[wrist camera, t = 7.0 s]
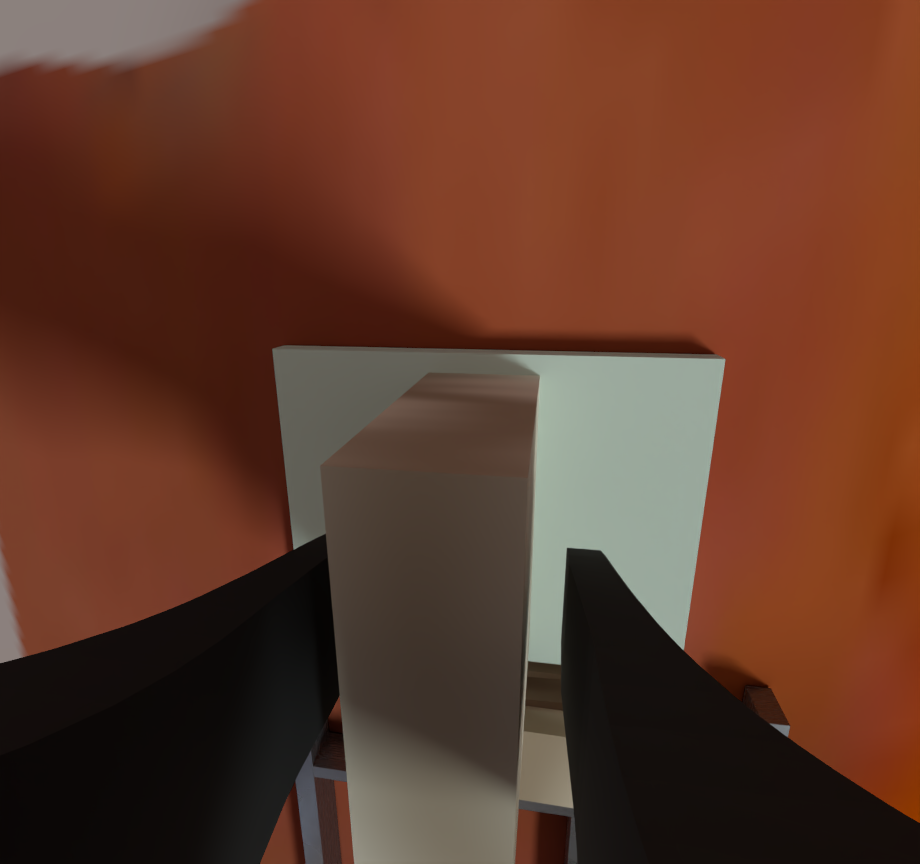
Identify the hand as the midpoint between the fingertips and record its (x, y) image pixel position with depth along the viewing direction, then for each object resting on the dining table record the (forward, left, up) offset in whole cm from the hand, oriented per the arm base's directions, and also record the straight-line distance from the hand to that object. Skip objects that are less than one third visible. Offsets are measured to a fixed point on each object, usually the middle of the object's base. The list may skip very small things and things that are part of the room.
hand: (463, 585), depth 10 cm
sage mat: (0, 0, -3) cm, 3 cm away
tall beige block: (0, 0, -3) cm, 3 cm away
